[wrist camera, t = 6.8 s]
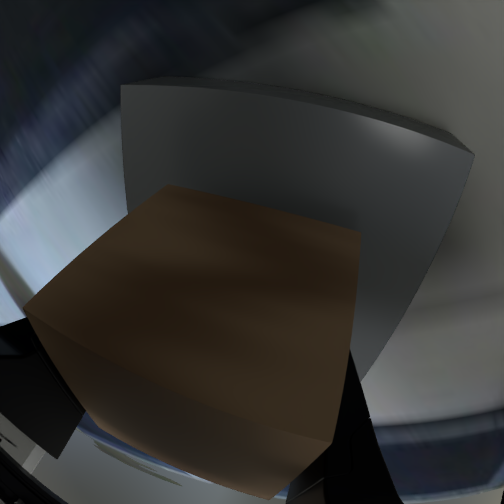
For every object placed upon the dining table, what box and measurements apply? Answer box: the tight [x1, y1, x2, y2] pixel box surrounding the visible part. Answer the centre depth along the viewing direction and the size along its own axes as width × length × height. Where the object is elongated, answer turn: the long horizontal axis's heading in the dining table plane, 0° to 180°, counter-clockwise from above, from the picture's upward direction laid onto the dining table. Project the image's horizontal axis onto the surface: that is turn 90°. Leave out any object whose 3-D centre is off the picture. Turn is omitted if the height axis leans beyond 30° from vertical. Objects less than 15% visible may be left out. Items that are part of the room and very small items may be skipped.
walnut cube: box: [23, 184, 361, 500], centre depth 8 cm, size 6×6×6 cm
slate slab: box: [121, 76, 475, 382], centre depth 13 cm, size 12×12×3 cm
